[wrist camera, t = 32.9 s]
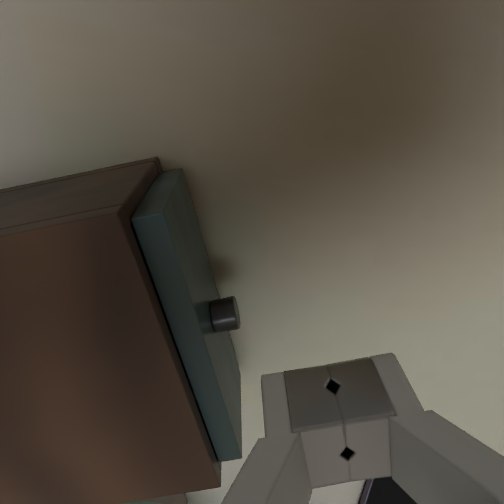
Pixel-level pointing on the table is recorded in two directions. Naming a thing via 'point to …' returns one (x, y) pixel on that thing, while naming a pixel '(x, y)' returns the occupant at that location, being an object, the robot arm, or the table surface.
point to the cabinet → (90, 352)
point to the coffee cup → (163, 500)
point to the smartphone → (384, 492)
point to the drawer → (192, 306)
